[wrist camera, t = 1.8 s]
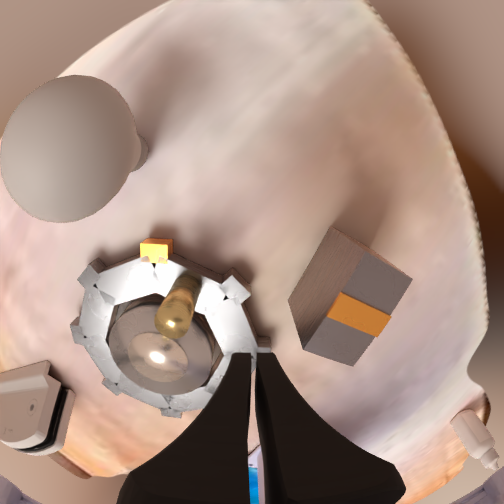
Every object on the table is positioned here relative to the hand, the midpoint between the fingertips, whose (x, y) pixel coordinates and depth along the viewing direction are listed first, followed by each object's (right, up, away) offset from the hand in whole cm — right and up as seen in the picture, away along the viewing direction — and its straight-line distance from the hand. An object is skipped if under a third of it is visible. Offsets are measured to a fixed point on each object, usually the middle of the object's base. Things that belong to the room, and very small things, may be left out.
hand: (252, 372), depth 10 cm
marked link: (+5, +3, +9) cm, 11 cm away
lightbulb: (-8, +11, +6) cm, 15 cm away
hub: (-7, -2, +10) cm, 12 cm away
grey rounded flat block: (-27, -13, +13) cm, 33 cm away
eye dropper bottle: (+31, -20, +17) cm, 40 cm away
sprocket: (-7, -2, +10) cm, 12 cm away
